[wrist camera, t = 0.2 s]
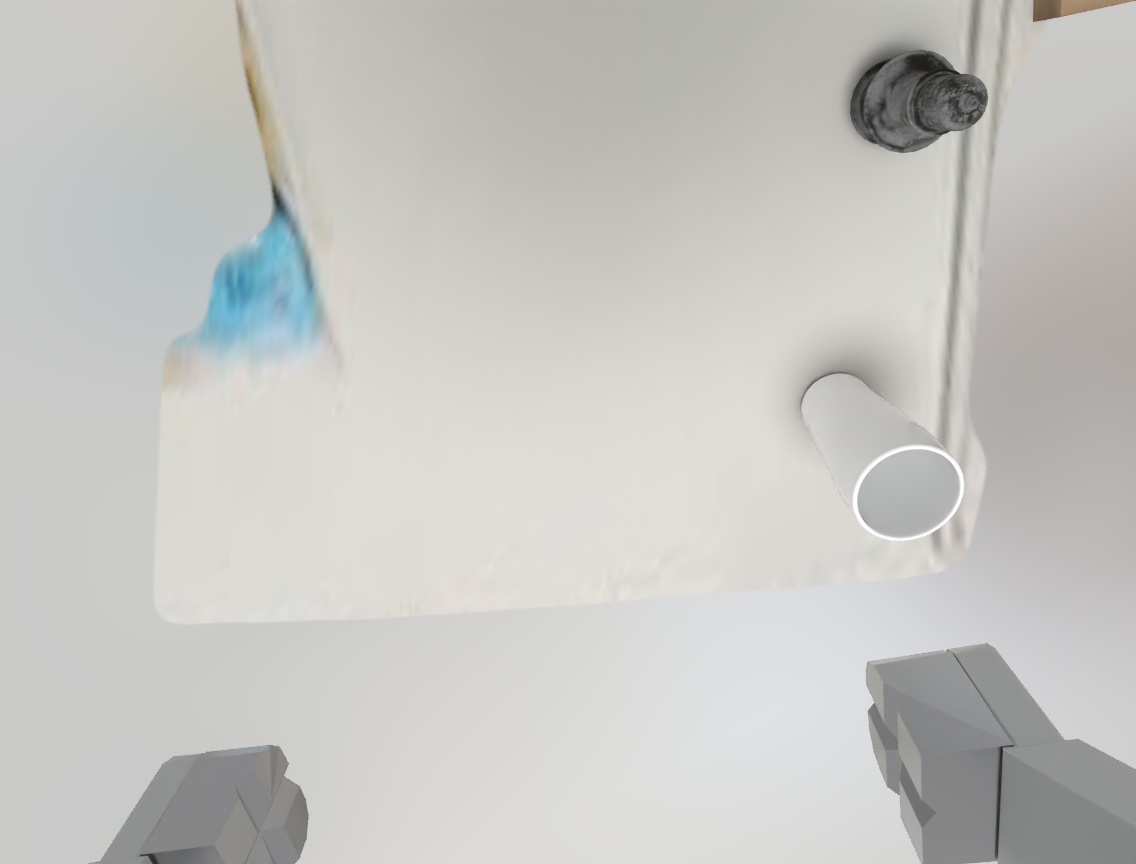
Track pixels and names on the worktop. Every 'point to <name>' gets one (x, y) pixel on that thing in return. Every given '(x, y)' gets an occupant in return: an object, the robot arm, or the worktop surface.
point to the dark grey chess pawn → (915, 101)
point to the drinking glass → (881, 460)
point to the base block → (1068, 7)
